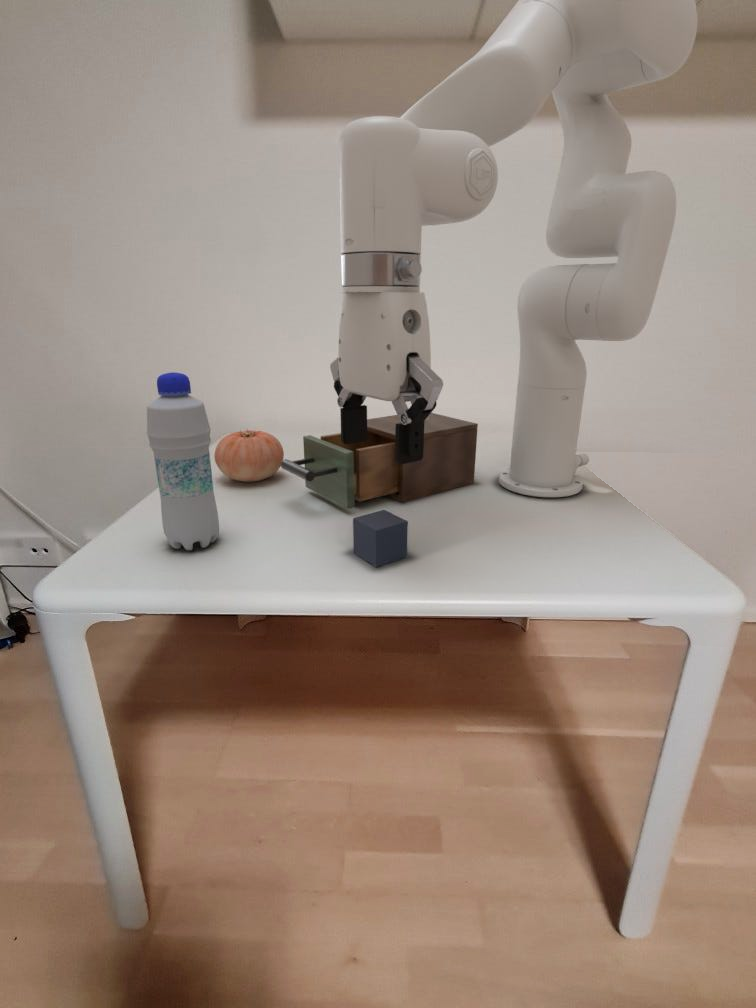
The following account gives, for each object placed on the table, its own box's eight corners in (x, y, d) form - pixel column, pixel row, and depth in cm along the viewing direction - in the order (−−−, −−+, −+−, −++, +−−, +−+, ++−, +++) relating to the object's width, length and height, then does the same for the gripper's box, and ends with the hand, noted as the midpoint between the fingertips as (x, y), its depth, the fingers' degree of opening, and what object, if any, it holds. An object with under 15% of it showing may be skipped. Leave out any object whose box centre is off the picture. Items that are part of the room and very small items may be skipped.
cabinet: (402, 502, 78) (403, 437, 75) (353, 480, 87) (352, 421, 84) (473, 483, 86) (477, 423, 83) (421, 464, 96) (423, 410, 92)
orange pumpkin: (266, 492, 82) (262, 440, 79) (203, 485, 85) (197, 435, 82) (295, 471, 92) (293, 425, 89) (238, 466, 95) (234, 421, 92)
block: (383, 543, 65) (384, 509, 63) (407, 556, 62) (408, 521, 60) (353, 553, 63) (352, 517, 61) (376, 567, 59) (376, 530, 58)
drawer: (315, 517, 70) (313, 459, 68) (275, 493, 79) (272, 441, 76) (423, 489, 81) (424, 438, 78) (377, 471, 89) (377, 424, 86)
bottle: (201, 526, 70) (182, 367, 63) (234, 540, 66) (216, 372, 59) (152, 544, 65) (125, 373, 58) (184, 560, 61) (159, 378, 54)
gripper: (474, 275, 47) (463, 464, 53) (361, 279, 60) (362, 431, 66) (408, 272, 43) (404, 478, 49) (301, 278, 56) (308, 440, 62)
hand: (380, 451), depth 58 cm, fingers open, 9 cm apart
